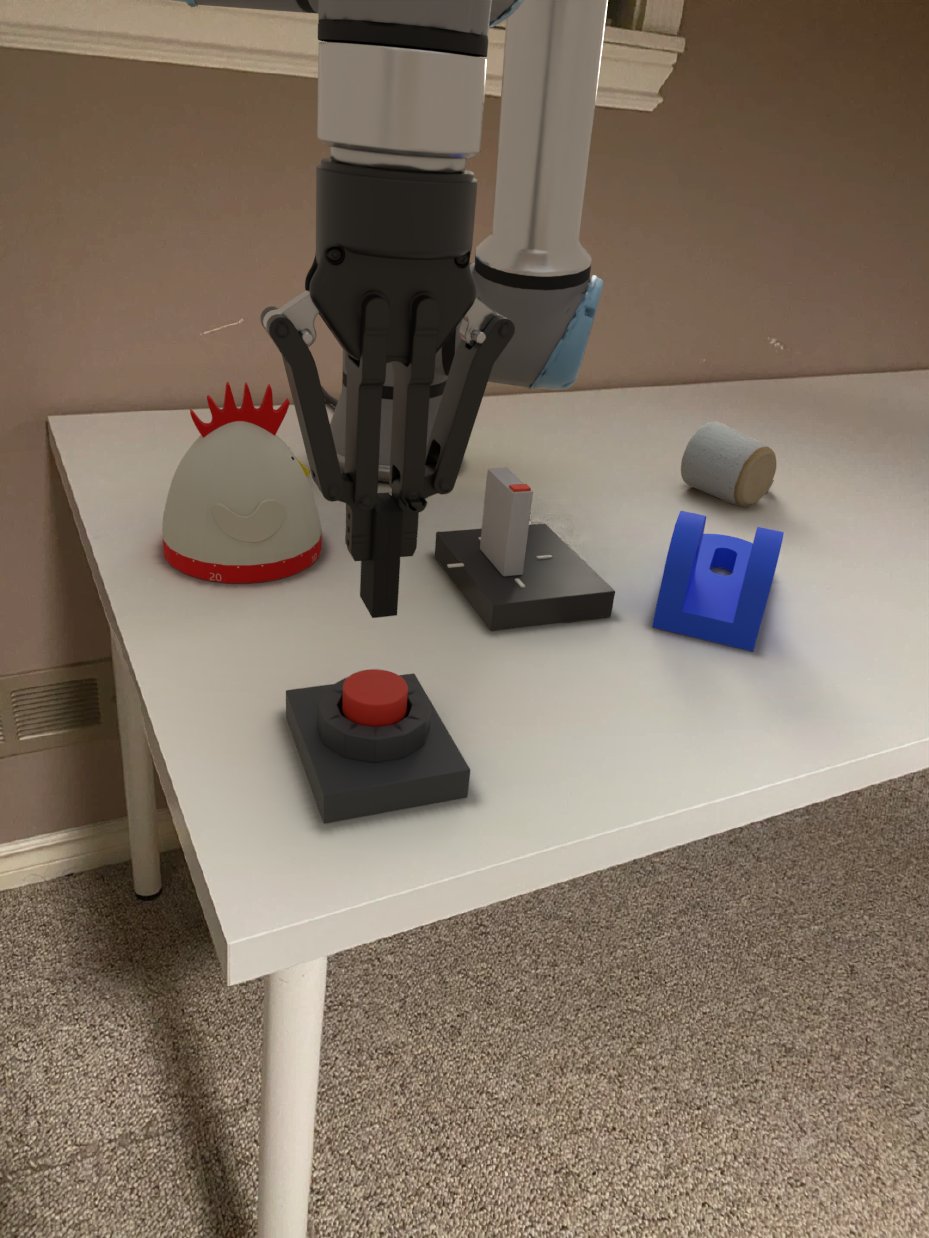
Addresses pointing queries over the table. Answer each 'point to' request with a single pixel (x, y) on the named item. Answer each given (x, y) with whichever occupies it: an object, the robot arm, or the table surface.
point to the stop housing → (374, 755)
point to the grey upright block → (506, 521)
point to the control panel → (525, 581)
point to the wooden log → (728, 464)
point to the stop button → (374, 698)
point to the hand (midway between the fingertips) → (378, 605)
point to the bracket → (716, 583)
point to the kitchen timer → (241, 499)
